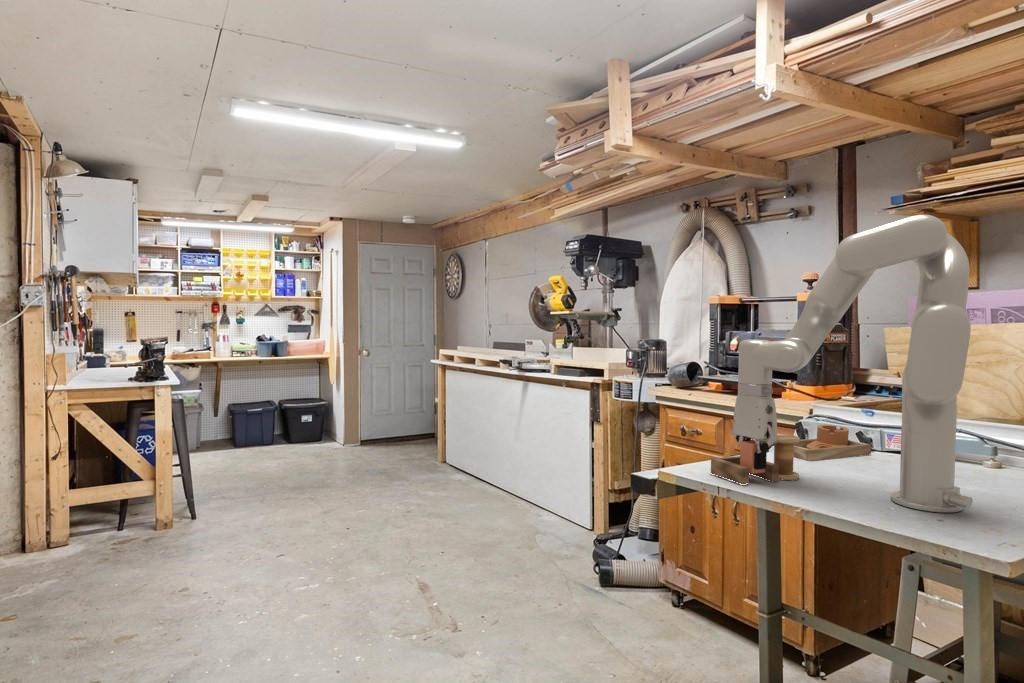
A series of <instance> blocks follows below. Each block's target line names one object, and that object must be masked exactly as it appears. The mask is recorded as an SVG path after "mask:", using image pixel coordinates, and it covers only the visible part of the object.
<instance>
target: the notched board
mask: <svg viewBox="0 0 1024 683" xmlns="http://www.w3.org/2000/svg"><path fill="white" fill-rule="evenodd" d="M711 473H712V474H715V475H718V476H721V477H724V478H727V479H730V480H733V481H735V482H738V483H741V484H746V483H749V484H750V475H749V468H747V467H744V466H741V465H740V455H737V456H726V457H717V458H711V459H710V474H711ZM750 474H751V473H750ZM753 475H756V476H759V477H762V478H764V479H767V480H770V481H778V482H779V481H780V480H779V465H777V464H774V462H769V461H767V460H766V469H765V472H763V473H753ZM770 481H769V482H770Z"/></svg>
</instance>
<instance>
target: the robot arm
mask: <svg viewBox="0 0 1024 683" xmlns="http://www.w3.org/2000/svg"><path fill="white" fill-rule="evenodd" d="M908 261H913V262H914V263H915V264H916V265H917V267H918V270H919V281H918V290H917V297H916V298H917V299H916V304H915V310H914V314H913V317H912V319H911V324H910V329H911V330H910V331H911V332H910V338H909V346H908V352H907V358H906V365H905V366H904V369H903V372H902V378H901V387H902V388H901V389H902V390H901V393H902V394H901V398H902V399H901V403H902V404H901V427H900V428H901V434H900V435H901V436H900V437H901V438H900V462H899V464H900V465H899V466H900V468H899V490H897V491H893V492H891V494H890V499H891V501H892V502H894V503H895V504H898V505H900V506H903V507H906V508H910V509H915V510H918V511H923V512H933V513H958V512H962V511H963V509H970V508H971V507H972V503H973V502H974V501H973V497H971V496H967V495H963V494H961V492H960V491H961V487H958V486H956V485H955V475H956V474H955V473H956V472H955V471H956V470H955V469H956V446H957V445H956V440H957V436H956V435H957V425H958V424H957V417H958V416H957V414H958V412H957V408H958V402H957V401H958V400H957V396H958V394H959V393H960V391H961V389H962V386H963V382H964V376H965V371H966V366H967V359H968V353H969V352H968V351H969V347H970V346H969V345H970V339H971V330H972V329H971V328H972V327H971V321H970V318H969V316H968V314H967V313H966V309H967V304H968V294H969V283H970V273H971V270H970V268H971V267H970V261H969V256H968V255H967V252H966V250H965V249H964V248H963V246H962V245H961V243H960V242H959V241H958V240H957V239H956V238H955V237H954V236H952V235H951V234H950V233H948V231H947V228H946V225H945V224H944V222H943V221H942V220H941V219H940V218H938V217H936V216H935V215H931V214H916V215H911V216H908V217H904V218H902V219H898V220H895V221H892V222H890V223H885V224H882V225H880V226H877V227H873V228H870V229H867V230H862V231H860V232H857V233H854V234H851V235H849V236H847V237H845V238H843V239H842V240H841V241H840V243H839V244H838V245H837V247H836V251H835V256H834V258H833V259H832V260H831V261H830V263H829V265H828V266H827V268H826V269H825V271H824V272H823V274H822V275H821V276H820V278H819V279H818V281H816V283H815V285H814V286H813V288H812V289H811V290H810V292H809V293H808V296H807V298H806V301H805V304H804V307H803V310H802V312H801V314H800V315H799V317H798V319H797V321H796V323H795V324H794V325H793V327H792V329H791V330H790V331H789V333H788V334H787V336H786V337H785V338H784V339H783V340H782V339H781V340H771V341H770V340H768V339H755V338H754V339H752V338H751V339H748V338H747V339H744V340H741V341H740V343H739V345H738V370H737V371H738V373H737V374H738V376H737V377H738V378H737V382H738V383H737V395H736V399H735V403H734V412H733V428H732V430H731V434H732V436H733V437H734V438H735V440H736V442H737V443H738V444H737V446H738V448H739V449H740V441H748V440H755V444H756V452H754V469H756V470H758V469H766V461H767V455H768V454H767V453H769V452H770V450H771V448H772V447H774V445H776V444H777V439H776V437H777V434H778V419H777V418H778V416H777V408H776V403H775V399H774V398H773V397H772V395H773V392H774V389H773V386H772V383H773V371H777V372H783V373H793V372H797V371H800V370H801V369H802V368H804V367H806V366H807V365H808V364H809V362H810V361H811V359H813V357H814V355H815V354H816V353H817V351H818V350H819V349H820V347H821V346H822V344H823V343H824V341H825V340H826V338H828V336H829V335H830V333H831V332H832V330H833V329H834V328H835V326H836V325H837V324H838V323H839V322H840V321H841V320H842V318H843V317H844V315H845V314H846V312H847V311H848V309H849V308H850V307H851V305H852V304H853V303H854V301H855V299H856V298H857V296H858V295H859V294H860V292H861V291H862V290H863V288H864V287H865V285H867V282H868V281H869V280H870V279H871V277H872V276H873V275H874V273H875V271H876V270H879V269H884V268H887V267H890V266H894V265H898V264H901V263H906V262H908ZM761 442H763V444H762V445H761Z"/></svg>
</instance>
